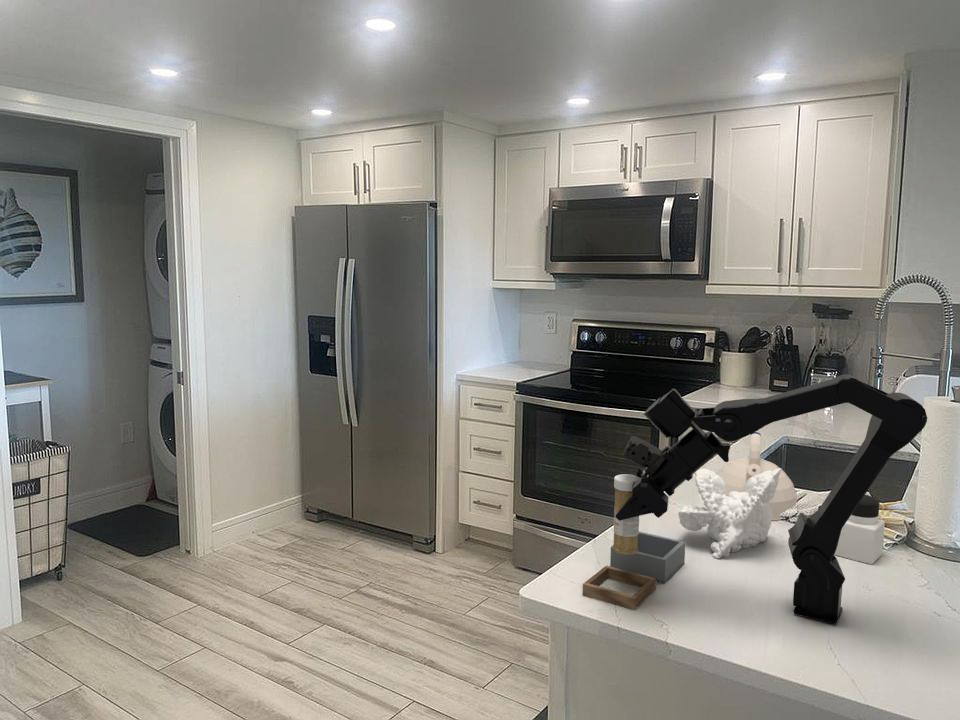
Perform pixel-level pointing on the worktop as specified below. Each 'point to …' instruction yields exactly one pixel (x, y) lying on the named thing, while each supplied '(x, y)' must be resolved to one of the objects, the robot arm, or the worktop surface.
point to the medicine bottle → (862, 533)
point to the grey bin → (652, 557)
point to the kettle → (748, 467)
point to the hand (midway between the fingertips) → (618, 513)
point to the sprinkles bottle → (626, 528)
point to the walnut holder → (619, 598)
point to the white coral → (732, 511)
